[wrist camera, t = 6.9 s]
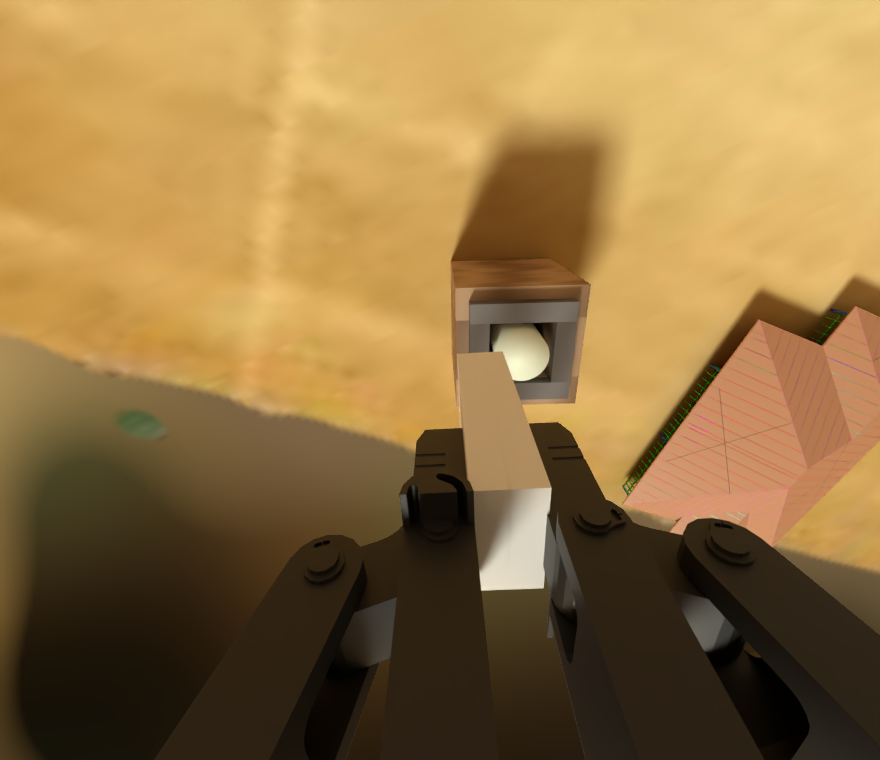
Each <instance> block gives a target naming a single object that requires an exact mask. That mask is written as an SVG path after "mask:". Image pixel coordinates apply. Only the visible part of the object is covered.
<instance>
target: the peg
mask: <svg viewBox="0 0 880 760" xmlns="http://www.w3.org/2000/svg"><path fill="white" fill-rule="evenodd" d="M489 341H490V344H491V347H492V350H493V352H500V351H503V354H504V356H505V359H506V362H507V365H508V368H509V370H510V373H511V376H512V379H513V380H516V381H526V380H530V379H532V378H535V377H536V376H538V375H539V374H540V373H541V372H542V371H543V370H544V369H545V367H546V366H547V364H548V361H549V348H548V345H547V343H546V342H545V340H544V339H543V337H542V336H541V334H540V333H539V332H538V330H537V329H536V327H535V326H534V324H533V323H505V324H490V339H489Z"/></svg>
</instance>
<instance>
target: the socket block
mask: <svg viewBox="0 0 880 760" xmlns="http://www.w3.org/2000/svg"><path fill="white" fill-rule="evenodd" d="M590 286H591V284H589V283H588V282H586V281H585V280H583V279H581V278H580V277H578V276H577V275H575V274H574V273H572V272H571V271H569V270H568V269H566V268H565V267H563V266H562V265H560V264H558V263H557V262H555V261H554V260H552V259H551V258H539V259H502V260H466V261H451V311H452V358H453V370H454V381H455V393H456V405H457V406H459V392H458V368H457V354H462V353H481V352H493V350H492V347H491V344H490V341H489V339H490V324H505V323H533V324H534V326H535V327H536V329H537V330H538V332H539V333H540V334H541V336H542V337H543V339H544V340H545V342H546V343H547V345H548V348H549V361H548V364H547V366H546V367H545V369H544V370H543V371H542V372H541V373H540V374H539V375H538V376H536V377H535V378H532V379H530V380H526V381H516V380H513V382H514V384H515V387H516V390H517V393H518V395H519V398H520V401H521V404H522V405H523V404H562V403H575V399H576V392H577V384H578V377H579V369H580V362H581V354H582V347H583V339H584V332H585V324H586V316H587V309H588V301H589V294H590Z"/></svg>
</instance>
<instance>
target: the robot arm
mask: <svg viewBox="0 0 880 760" xmlns="http://www.w3.org/2000/svg"><path fill="white" fill-rule="evenodd" d="M457 368H458V392H459V415H460V428H455V429H434V430H425V431H424V432H423V434H422V435H421V436H420V438H419V439H418V440H417V443H416V454H415V455H416V457H415V468H414V476H413V477H411V478H410V479H409V480H408V481H407V482H406V483H405V484H404V485H403V487H402V489H401V492H400V494H399V497H400V504H401V512H402V519H403V526H402V527H401V528H400V529H399V530H398V531H397V532H395V533H394V534H393V535H391V536H389V537H387V538H385V539H382V540H380V541H378V542H374V543H371V544H368V545H365V546H362V547H360V546H359V545H358V544H357V543H356V542H355V541H354V540H353V539H351V538H348V537H345V536H343V535H327V536H324V537H320V538H317V539H314V540H312V541H310V542H309V543H307V544H305V545H304V546H302V547H301V548H300V549H299V550H298V551H297V552H296V553H295V554H294V555H293V556H292V557H291V558H290V560H289V561H288V563H287V564H286V566H285V567H284V569H283V570H282V572H281V573H280V575H279V576H278V577H277V579H276V581H275V582H274V583H273V585H272V586H271V588H270V589H269V591H268V592H267V594H266V595H265V597H264V598H263V600H262V601H261V603H260V604H259V606H258V607H257V608H256V610H255V611H254V613H253V614H252V616H251V617H250V619H249V620H248V622H247V623H246V625H245V626H244V628H243V629H242V631H241V632H240V634H239V635H238V637H237V638H236V640H235V641H234V643H233V644H232V646H231V647H230V649H229V650H228V651H227V653H226V654H225V656H224V658H223V659H222V660H221V662H220V663H219V665H218V666H217V668H216V669H215V671H214V672H213V674H212V675H211V677H210V678H209V680H208V681H207V682H206V684H205V686H204V687H203V688H202V690H201V691H200V693H199V694H198V696H197V697H196V699H195V700H194V702H193V703H192V705H191V706H190V708H189V709H188V711H187V712H186V713H185V715H184V716H183V718H182V720H181V721H180V722H179V724H178V725H177V727H176V728H175V730H174V731H173V733H172V734H171V736H170V737H169V739H168V740H167V742H166V743H165V745H164V746H163V748H162V749H161V751H160V752H159V753H158V755H157V757H156V758H155V759H154V760H346V757H347V755H348V752H349V749H350V746H351V743H352V740H353V737H354V735H355V732H356V729H357V726H358V723H359V720H360V717H361V715H362V711H363V709H364V706H365V703H366V700H367V697H368V694H369V692H370V689H371V686H372V683H373V680H374V677H375V675H376V672H377V669H378V666H379V662H381V661H383V660H385V659H388V658H390V668H389V676H388V677H389V678H388V687H387V696H386V706H385V716H384V725H383V735H382V744H381V754H380V760H498V751H497V742H496V731H495V721H494V712H493V702H492V692H491V682H490V672H489V663H488V653H487V643H486V633H485V622H484V614H483V603H482V593H481V590H505V589H533V588H543V587H544V575H546V579H547V583H548V586H549V590H550V599H549V610H548V622H547V638H553V631H554V634H555V638H556V642H557V646H558V650H559V655H560V658H561V662H562V666H563V671H564V675H565V679H566V683H567V687H568V691H569V695H570V699H571V703H572V707H573V711H574V715H575V719H576V724H577V727H578V732H579V735H580V740H581V744H582V747H583V752H584V756H585V760H880V635H879V634H877V633H876V632H875V631H874V630H873V629H871V628H870V627H869V626H868V625H866V624H865V623H864V622H863V621H862V620H860V619H859V618H858V617H857V616H855V615H854V614H853V613H852V612H851V611H849V610H848V609H847V608H846V607H845V606H843V605H842V604H841V603H839V602H838V601H837V600H836V599H835V598H833V597H832V596H831V595H830V594H828V593H827V592H826V591H825V590H824V589H823V588H821V587H820V586H819V585H818V584H816V583H815V582H814V581H813V580H812V579H810V578H809V577H808V576H807V575H805V574H804V573H803V572H802V571H801V570H799V569H798V568H797V567H796V566H795V565H793V564H792V563H791V562H789V561H788V560H787V559H786V558H785V557H784V556H782V555H781V554H780V553H779V552H777V551H776V550H775V549H774V548H773V547H771V546H770V545H769V544H768V543H766V542H765V541H764V540H763V539H762V538H760V537H759V536H757V535H756V534H754V533H752V532H751V531H749V530H748V529H746V528H744V527H742V526H739V525H737V524H735V523H732V522H730V521H726V520H721V519H715V518H702V519H696V520H694V521H692V522H690V523H688V524H687V526H686V528H685V530H684V532H683V535H681V534H676V533H671V532H666V531H661V530H656V529H651V528H648V527H644V526H640V525H638V524H635V523H633V522H632V520H631V519H630V517H628V515H627V514H626V513H625V511H624V510H623V509H622V508H620V507H618V506H617V505H615V504H614V503H612V502H611V501H608V500H606V499H605V497H604V495H603V493H602V491H601V489H600V487H599V485H598V483H597V482H596V480H595V478H594V476H593V474H592V472H591V470H590V468H589V466H588V464H587V462H586V460H585V459H584V458H583V454H582V452H581V450H580V449H579V448H578V445H577V443H576V441H575V439H574V437H573V435H572V433H571V432H570V431H568V430H567V429H566V428H565V427H563V426H562V425H561V424H559V423H558V422H553V423H532V424H529V423H528V421H527V418H526V415H525V412H524V409H523V407H522V404H521V401H520V398H519V395H518V393H517V390H516V387H515V384H514V382H513V379H512V376H511V373H510V370H509V368H508V365H507V362H506V359H505V356H504V354H503V351H500V352H481V353H462V354H457Z"/></svg>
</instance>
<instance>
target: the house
mask: <svg viewBox="0 0 880 760" xmlns="http://www.w3.org/2000/svg"><path fill="white" fill-rule="evenodd" d="M831 311H834V312H837V313H840V316H841V315H844V316H846V317H845V318H844V320H843V321H842V322H840V324H839V326H838V327H837V328H836V329H835V330H834V332H833V333H832V334H831V335H830V336H829V338H828V339H827V340H826V341H825V342H824V344H823V345H822V346H821V345H819V344H818V343H819V342H821V341H820V340H821V339H822V337H823V336H824V335H826V333H827V332H828V331H829V330H830V328H831V326H832V325H833V324H834V323H835V322H836V321H837V320H838V319H839V317H840V316H839V317H838V318H837V319H836V320H835V321H834V322H833V323H832V325H831V326H830V327H829V329H828V330H827V331H826V333H825V334H823V333H822V334H823V336H822V337H821V338H820V339H819V341H818V340H817V341H818V342H817V344H816V343H814V342H812V341H809V340H807V339H804V338H802V337H800V336H797V335H795V334H792V333H790V332H788V331H785V330H783V329H780V328H778V327H775V326H773V325H771V324H768V323H766V322H763V321H761V320H759V319H758V320H757V322H756V323H755V324H754V326H753V327H752V328H751V330H750V331H749V332H748V334H747V335H746V336H745V338H744V339H743V341H742V342H741V343H740V345H739V346H738V347H737V349H736V350H735V351H734V353H733V354H732V355H731V357H730V358H729V360H728V361H727V362H726V364H725V365H724V366H723V368H722V369H720V368H718V367H717V366H716V367H715V366H713V365H712V364H710V366H711V367H713V368H714V369H716V372H717V371H719V373H718V374H717V376H716V377H714V375H715V373H716V372H715V373H714V374H713V376H712V375H711V374H710V375H711V376H712V377H714V378H715V379H714V380H713V381H712V383H711V384H710V383H709V381H710V380H711V378H712V377H711V378H710V379H709V381H706V380H705V379H704V378H702V377H701V378H702V379H704V380H705V381H706V382H708V383H709V384H710V385H709V387H708V388H707V389H705V387H706V386H707V384H708V383H707V384H706V385H705V387H704V388H703V387H702V386H701V385H699V384H698V383H697V384H698V385H699V386H701V387H702V388H703V389H705V390H706V391H705V392H704V393H703V395H700V393H701V392H702V391H703V389H702V390H701V392H700V393H698V392H697V391H695V390H694V389H693V390H694V391H695V392H697V393H698V394H699V395H700V396H701V398H700V399H699V400H698V402H697V401H696V399H697V398H698V397H699V395H698V396H697V398H696V399H694V398H693V397H691V396H690V395H689V394H688V395H689V396H690V397H691V398H693V399H694V401H693V403H694V402H695V401H696V402H697V403H696V404H695V406H694V407H692V404H693V403H692V404H691V405H690V404H689V403H688V402H686V401H685V400H684V401H685V402H686V403H688V404H689V405H690V407H692V410H691V411H690V412H689V413H688V410H689V409H690V407H689V409H688V410H687V411H686V410H685V409H684V408H683V407H682V406H681V407H682V408H683V409H684V410H685V411H686V412H687V413H688V415H687V416H686V418H685V419H684V418H683V417H684V415H685V414H686V412H685V413H684V415H683V416H681V415H680V414H679V413H678V412H677V411H676V412H677V413H678V414H679V415H680V416H681V417H682V418H683V419H684V421H683V422H682V423H681V424H680V423H679V422H680V421H681V420H682V418H681V419H680V421H679V422H678V421H677V420H676V419H675V418H674V417H673V418H674V419H675V420H676V421H677V422H678V423H679V424H680V426H679V427H678V429H677V430H676V429H675V427H676V426H677V425H678V423H677V424H676V426H675V427H673V426H672V425H671V424H670V423H669V422H668V423H669V424H670V425H671V426H672V427H673V428H674V429H675V430H676V431H675V433H674V434H673V435H672V434H671V433H672V432H673V431H674V429H673V430H672V432H671V433H670V432H669V431H668V430H667V429H666V428H665V429H666V430H667V431H668V432H669V433H670V434H671V435H672V437H671V438H669V436H670V434H669V435H667V434H666V433H665V432H664V431H663V432H664V433H665V434H666V435H667V437H666V436H665V437H666V438H667V439H665V438H664V436H663V435H662V434H660V436H661V437H662V439H663V440H664V442H666V443H667V444H666V445H665V446H664V448H663V447H662V445H663V444H664V442H663V443H662V445H660V443H659V442H658V441H657V440H656V441H657V442H658V443H659V445H660V446H661V447H662V448H663V449H662V450H661V452H660V453H659V452H658V451H659V450H660V448H661V447H660V448H659V449H658V451H657V449H656V448H655V447H654V446H653V445H652V446H653V447H654V448H655V450H656V451H657V452H658V453H659V454H658V456H657V457H656V458H655V457H654V456H655V455H656V453H657V452H656V453H655V454H654V455H653V454H652V453H651V452H650V450H649V452H650V453H651V454H652V455H653V458H655V460H654V461H653V463H651V461H652V459H653V458H652V459H651V460H649V459H648V457H647V456H646V455H645V456H646V457H647V459H648V460H649V463H651V465H650V467H649V468H648V467H647V466H648V464H649V463H648V464H647V465H646V464H645V463H644V462H643V460H642V462H643V463H644V464H645V466H646V467H647V468H648V469H647V471H646V472H645V473H644V470H645V469H646V467H645V469H644V470H642V469H641V467H640V466H639V465H638V466H639V467H640V469H641V470H642V472H643V473H644V475H643V476H642V477H640V475H641V474H642V472H641V474H640V475H639V474H638V473H637V471H636V470H635V469H634V470H635V471H636V473H637V474H638V476H639V477H640V480H639V482H638V483H637V480H638V478H639V477H638V478H637V479H636V480H635V478H634V477H633V475H632V474H631V475H632V477H633V478H634V480H635V482H636V483H637V484H636V486H635V487H633V485H634V483H635V482H634V483H633V484H632V483H631V482H630V480H629V479H628V480H629V482H630V483H631V485H632V486H631V488H632V487H633V490H632V491H631V488H629V486H628V484H627V483H626V482H625V483H626V484H627V486H628V488H629V490H630V493H628V491H629V490H628V491H627V490H626V488H625V487H624V486H622V487H623V488H624V490H625V492H626V493H627V495H628V496H627V498H626V499H625V501H624V502H623V503H622V504H623V505H626V506H629V507H632V508H635V509H639V510H642V511H645V512H648V513H652V514H655V515H658V516H661V517H665V518H668V519H671V520H674V521H677V522H676V523H675V525H674V526H673V527H672V528H671V529H670V531H669V532H671V533H676V534H681V535H683V532H684V530H685V528H686V526H687V524H688V523H690V522H692V521H694V520H696V519H702V518H715V519H721V520H726V521H730V522H732V523H735V524H737V525H739V526H742V527H744V528H746V529H748V530H749V531H751V532H752V533H754V534H756V535H757V536H759V537H760V538H762V539H763V540H764V541H765V542H766V543H768V544H769V545H770V546H771V547H773V546H774V545H775V544H776V543H777V542H778V541H779V540H780V539H781V538H782V537H783V536H784V535H785V534H786V533H787V532H788V531H789V530H790V529H791V528H792V527H793V526H794V525H795V524H796V523H797V522H798V521H799V520H800V519H801V518H802V517H803V516H804V515H805V514H806V513H807V512H808V511H809V510H810V509H811V508H812V507H813V506H814V505H815V504H816V503H817V502H818V501H820V500H821V499H822V498H823V497H824V496H825V495H826V494H827V493H828V492H829V491H830V490H831V489H832V488H833V487H834V486H835V485H836V484H837V483H838V482H839V481H840V480H841V479H842V478H843V477H844V476H845V475H846V474H847V473H848V472H849V471H850V470H851V469H852V468H853V467H854V466H855V465H856V464H857V463H858V462H859V461H860V460H861V459H862V458H863V457H864V456H865V455H866V454H867V453H868V452H869V451H870V450H871V449H872V448H873V447H874V446H875V445H876V444H877V443H878V442H879V441H880V317H879V316H877V315H874V314H872V313H870V312H868V311H865V310H863V309H861V308H859V307H857V306H854V308H853V309H852V310H851V311H850V312H849V314H847V313H843V312H840V311H837V310H834V309H831ZM826 318H828V317H826ZM829 319H831V318H829ZM832 320H833V319H832ZM838 322H839V321H838ZM819 324H820V323H819ZM821 325H823V324H821ZM824 326H825V325H824ZM827 327H828V326H827ZM832 329H834V328H832ZM814 331H815V330H814ZM816 332H818V331H816ZM819 333H820V332H819ZM827 336H828V335H827ZM810 338H811V337H810ZM812 339H813V338H812ZM815 340H816V339H815ZM822 343H823V342H822ZM705 372H707V371H705ZM707 373H708V372H707ZM708 374H709V373H708ZM668 438H669V439H670V440H669V439H668ZM667 440H668V441H667Z"/></svg>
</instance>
